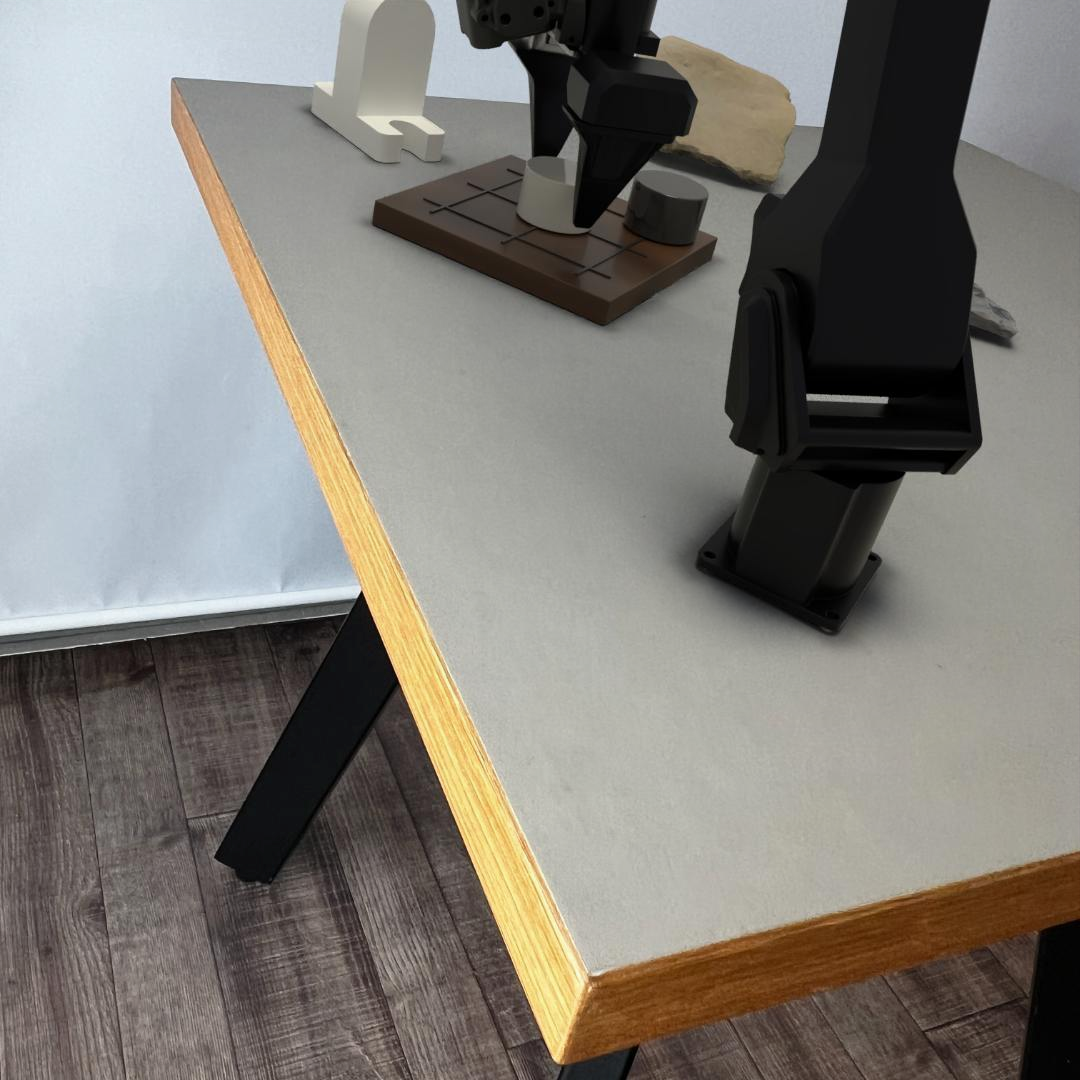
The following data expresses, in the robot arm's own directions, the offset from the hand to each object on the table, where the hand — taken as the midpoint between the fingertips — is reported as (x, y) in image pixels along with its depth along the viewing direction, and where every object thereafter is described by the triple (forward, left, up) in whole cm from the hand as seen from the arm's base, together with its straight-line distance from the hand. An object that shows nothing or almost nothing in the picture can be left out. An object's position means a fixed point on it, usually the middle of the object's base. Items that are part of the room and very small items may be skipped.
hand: (559, 196), depth 76 cm
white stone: (0, 0, -1) cm, 1 cm away
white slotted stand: (+6, +17, -3) cm, 19 cm away
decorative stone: (+27, +1, -3) cm, 27 cm away
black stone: (+5, -5, -1) cm, 7 cm away
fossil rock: (+20, -18, -3) cm, 26 cm away
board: (0, 0, -3) cm, 3 cm away
